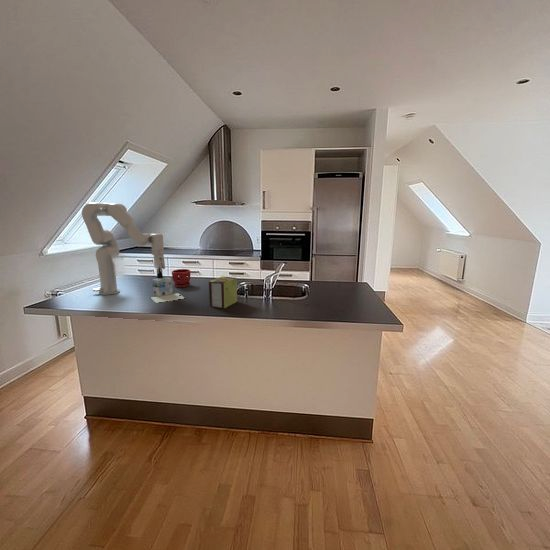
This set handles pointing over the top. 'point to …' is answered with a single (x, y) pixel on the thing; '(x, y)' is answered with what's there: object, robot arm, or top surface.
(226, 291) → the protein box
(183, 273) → the plant pot
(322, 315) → the top surface
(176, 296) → the pale green mat
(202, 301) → the top surface
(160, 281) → the light bulb box
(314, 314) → the top surface
